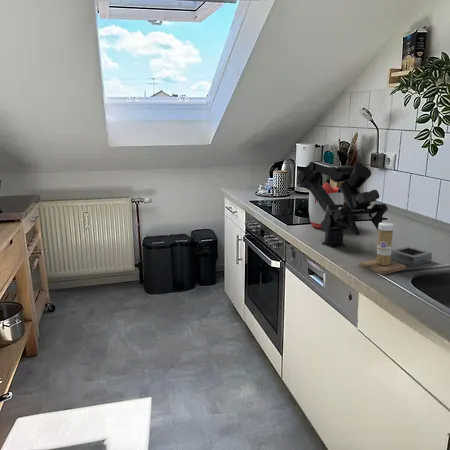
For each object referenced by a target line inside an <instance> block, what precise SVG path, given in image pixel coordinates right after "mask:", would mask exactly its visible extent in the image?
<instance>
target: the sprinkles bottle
mask: <svg viewBox="0 0 450 450" xmlns="http://www.w3.org/2000/svg"><path fill="white" fill-rule="evenodd" d="M394 227H395V224H394V223H392V222H389V221H387V222H385V221H382V222H381V223H379V226H378V230H379V231H378V230H377V231H378V236H377V246H376V258H377V260H376V263H377V264H379V265H390V264H391V262H390V261H392V260H391V250H393V249H392V248H393V235H394V234H393V232H394V229H395V228H394Z"/></svg>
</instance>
